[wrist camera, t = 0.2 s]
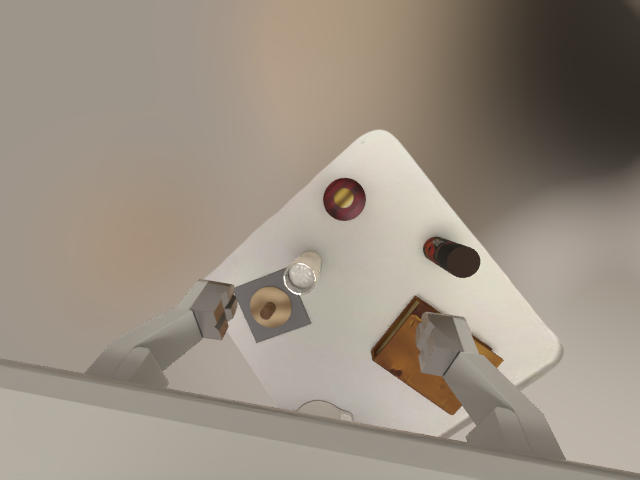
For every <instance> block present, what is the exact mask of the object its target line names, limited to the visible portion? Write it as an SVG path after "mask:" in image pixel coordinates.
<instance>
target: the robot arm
mask: <svg viewBox="0 0 640 480" xmlns="http://www.w3.org/2000/svg"><path fill="white" fill-rule="evenodd" d="M234 292H235V288H234V285H232V284H227V283H221V282H215V281H209V280H202V279H199V280H198V281H196V282H195V283H194V285H193V286H192V288H191V289H190V290H189V292H188V293H187V294H186V296H185V297H184V298H183V300H182V301H181V303H180V304H179V305H178V307H177V308H174V307H173V308H171V309H169V310H168V311H166V312H164V313H162V314H161V315H159V316H157V317H155V318H153V319H151V320H150V321H148V322H146V323H144V324H143V325H141V326H139V327H137V328H135V329H133V330H132V331H130V332H128V333H126V334H124V335H123V336H121V337H119V338H117V339H115V340H114V341H112V342H111V343H110V345H109V346H108V347H107V348H106V349H105V350H104V352H103V353H102V354H101V355H100V356H99V357H98V358H97V359H96V361H95V362H94V363H93V364H92V365H91V366H90V367H89V369H88V370H87V371H86V372H85V373H79V372H73V371H68V370H62V369H56V368H51V367H45V366H40V365H34V364H29V363H23V362H17V361H12V360H7V359H1V358H0V480H640V473H634V472H629V471H623V470H618V469H612V468H607V467H601V466H596V465H589V464H584V463H579V462H573V461H567V460H566V459H565V457H564V455H563V453H562V451H561V449H560V446H559V444H558V442H557V440H556V438H555V437H554V434H553V432H552V431H551V428H550V426H549V424H548V422H547V420H546V418H545V416H544V414H543V413H542V412H541V411H540V410H539V409H538V408H537V407H536V406H535V405H534V404H533V403H532V402H531V401H530V400H529V399H528V398H527V397H526V396H525V395H524V394H523V393H522V392H520V391H519V390H518V389H517V388H516V387H515V386H514V385H513V384H512V383H511V382H510V381H509V380H508V379H507V378H506V377H505V376H504V375H503V374H502V373H501V372H500V371H499V370H498V369H497V368H496V367H495V366H494V365H493V364H492V363H491V362H490V361H489V360H488V359H487V358H486V357H485V356H484V355H480V354H479V352H478V350H477V347H476V345H475V342H474V340H473V337H472V334H471V332H470V329H469V327H468V324H467V322H466V319H465V318H464V317H459V316H452V315H446V314H439V313H431V312H424V313H423V315H422V317H421V318H422V322H421V323H419V324H418V326H417V328H416V334H415V339H416V346H417V348H418V349H419V350H420V351H421V352H420V354H419V356H418V358H419V363H420V368H421V373H426V374H431V375H437V376H442V377H443V379H444V380H445V382H446V383H447V384H448V386H449V387H450V389H451V390H452V392H453V393H454V394H455V396H456V397H457V399H458V400H459V401H460V403H461V404H462V406H463V407H464V409H465V410H466V411H467V413H468V414H469V416H470V417H471V418H472V420H473V421H474V423H475V424H476V425H477V426H476V427H475V428H474V429H473V430H472V431H471V432H470V433H469V434H468V435H467V436H466V440H467V442H462V441H457V440H451V439H446V438H440V437H435V436H429V435H424V434H418V433H412V432H407V431H401V430H396V429H390V428H385V427H379V426H374V425H368V424H363V423H357V422H353V417H352V414H351V413H349V412H347V411H343V410H340V409H338V408H337V407H335V406H334V405H332V404H330V403H327V402H324V401H312V402H309V403H306V404H304V405H303V406H302V407H301V408H300V409H299V410H298V411H297V412H296V411H290V410H285V409H279V408H274V407H267V406H262V405H257V404H251V403H245V402H240V401H235V400H228V399H223V398H218V397H212V396H207V395H201V394H195V393H190V392H184V391H179V390H173V389H168V388H167V386H168V380H167V378H166V376H165V375H164V373H163V371H164V370H165V369H166V368H167V367H169V366H170V365H171V364H172V363H173V362H175V361H176V360H177V359H178V358H180V357H181V356H182V355H183V354H185V353H186V352H187V351H188V350H189V349H191V348H192V347H193V346H194V345H196V344H197V343H198V342H199V341H200V340H201V339H202V338H209V339H216V340H222V339H223V337H224V335H225V333H226V331H227V329H228V323H227V322H228V321H229V320H231V319H232V318H233V317H234V315H235V312H236V308H237V297H236V296H235V295H234V294H233V293H234Z"/></svg>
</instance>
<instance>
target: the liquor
mask: <svg viewBox="0 0 640 480" xmlns="http://www.w3.org/2000/svg"><path fill="white" fill-rule="evenodd" d="M323 202H324V206H325V209H326V211H327V212H328V213H329V215H331V216H332V217H333V218H335V219H337V220H342V221H347V220H351V219H354V218H355V217H357V216H358V215H359V214H360V213H361V212H362V210H363V209H364V206H365V202H366V196H365V192H364V190H363V188H362V186H361V185H360V184H359V183H358V182H356V181H355V180H353V179H349V178H340V179H337V180H335V181H333V182H332V183H331V184H330V185H329V186H328V187H327V188H326V190H325V193H324V198H323Z"/></svg>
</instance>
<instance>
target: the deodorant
mask: <svg viewBox="0 0 640 480" xmlns="http://www.w3.org/2000/svg"><path fill="white" fill-rule="evenodd" d="M423 252H424V255H425V256H426V257H427V258H428V259H429V260H431V261H432V262H434V263H435V264H437V265H438V266H440V267H442V268H443V269H445V270H446V271H448V272H449V273H451V274H452V275H454V276H456V277H459V278H466V277H470V276H472V275H473V274H475V273H476V272H477V270H478V269H479V266H480V257H479V255H478V253H477V252H476V251H475V250H474V249H472V248H470V247H467V246H464V245H461V244H458V243H455V242H452V241H449V240H446V239H443V238H440V237H433V238H430V239H429V240H427V241H426V243H425V244H424V247H423Z"/></svg>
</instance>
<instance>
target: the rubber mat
mask: <svg viewBox="0 0 640 480" xmlns="http://www.w3.org/2000/svg"><path fill="white" fill-rule="evenodd" d="M286 269H287V268H285V269H282V270H280V271H277V272H275V273H272V274H269V275H267V276H264V277H262V278H259V279H257V280H254V281H252V282H249V283H246V284H244V285H241V286H239V287H236V288H235V292H234V294H235V296H236V297H237V301H238V303H239V305H240V307H241V309H242V312H243V314H244V316H245V318H246V321H247V323H248V325H249V327H250V329H251V332H252V334H253V336H254V338H255V341H256V343H258V342H261V341H263V340H266V339H269V338H272V337H275V336H278V335H280V334H283V333H286V332H289V331H292V330H295V329H298V328H300V327H303V326H306V325H309V324H311V322H310V319H309V317H308V315H307V312H306V310H305V308H304V305H303V303H302V301H301V298H300V296H299V295H297V294H294V293H292V292H290V291H289V290H288V289H287V288H286V286H285V284H284V273H285V271H286ZM267 286H273V287H277V288H280V289H281V290H283V291H284V292H285V293H286V294H287V295H288V296H289V298H290V301H291V304H292V311H291V315H290V317H289V319H288V320H287V321H286V322H285V323H284V324H283V325H281V326H279V327H274V328H270V327H265V326H263V325H261V324H259V323H258V322H257V321H256V320H255V319H254V318H253V316H252V314H251V310H250V302H251V299H252V297H253V295H254V294H255V293H256V292H257V291H258V290H259V289H261V288H263V287H267Z"/></svg>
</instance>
